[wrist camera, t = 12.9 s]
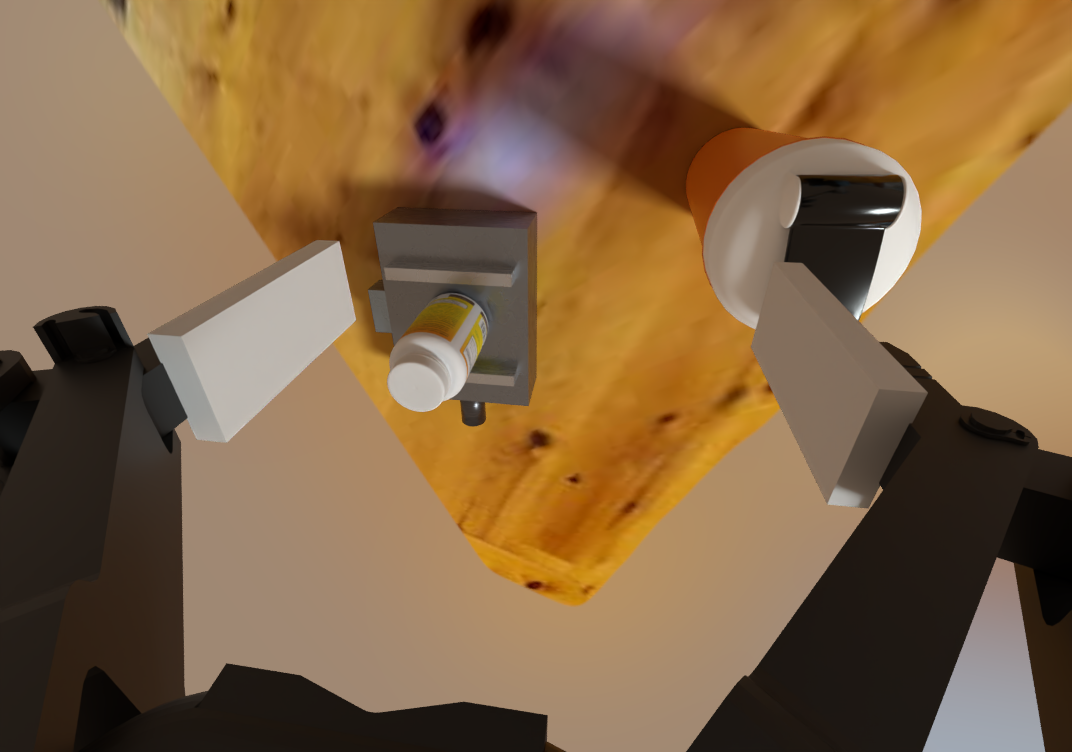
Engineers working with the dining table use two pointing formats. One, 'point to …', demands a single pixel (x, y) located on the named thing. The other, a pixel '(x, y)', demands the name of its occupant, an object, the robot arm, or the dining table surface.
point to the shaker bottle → (801, 216)
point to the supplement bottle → (437, 352)
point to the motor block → (466, 290)
